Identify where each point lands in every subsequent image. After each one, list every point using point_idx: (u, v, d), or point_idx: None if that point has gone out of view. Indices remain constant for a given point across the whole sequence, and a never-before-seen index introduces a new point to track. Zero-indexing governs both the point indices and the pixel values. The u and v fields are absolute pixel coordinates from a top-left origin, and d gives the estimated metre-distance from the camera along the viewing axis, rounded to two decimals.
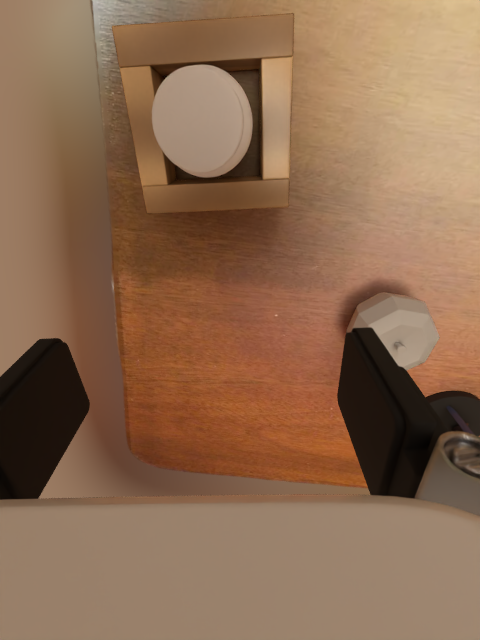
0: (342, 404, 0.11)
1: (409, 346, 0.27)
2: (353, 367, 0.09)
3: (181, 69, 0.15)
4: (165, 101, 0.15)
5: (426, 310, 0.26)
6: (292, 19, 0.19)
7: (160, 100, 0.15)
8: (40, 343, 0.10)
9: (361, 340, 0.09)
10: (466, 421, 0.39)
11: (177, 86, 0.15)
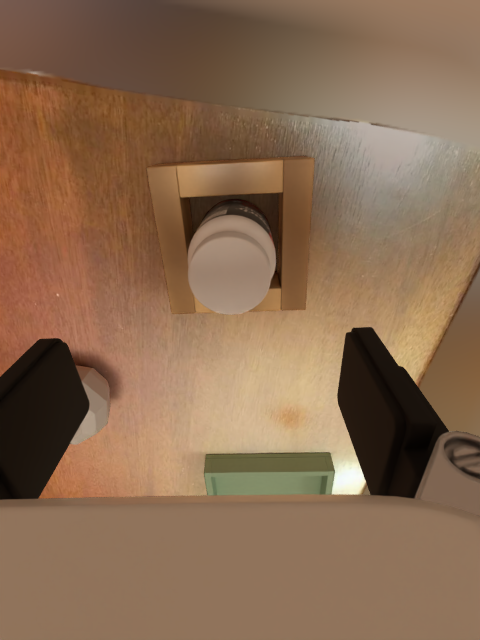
0: (342, 404, 0.11)
1: None
2: (353, 367, 0.09)
3: (268, 268, 0.17)
4: (245, 252, 0.17)
5: (99, 429, 0.31)
6: (302, 309, 0.26)
7: (246, 247, 0.17)
8: (40, 343, 0.10)
9: (361, 340, 0.09)
10: None
11: (256, 264, 0.17)
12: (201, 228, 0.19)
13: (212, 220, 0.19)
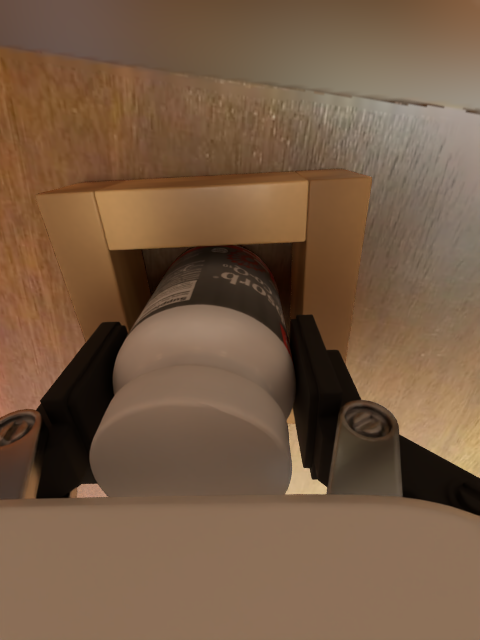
0: None
1: None
2: (293, 350, 0.10)
3: (286, 459, 0.07)
4: (228, 431, 0.06)
5: None
6: None
7: (230, 422, 0.06)
8: (104, 325, 0.10)
9: (300, 325, 0.10)
10: None
11: (257, 452, 0.07)
12: (135, 334, 0.09)
13: (158, 318, 0.08)
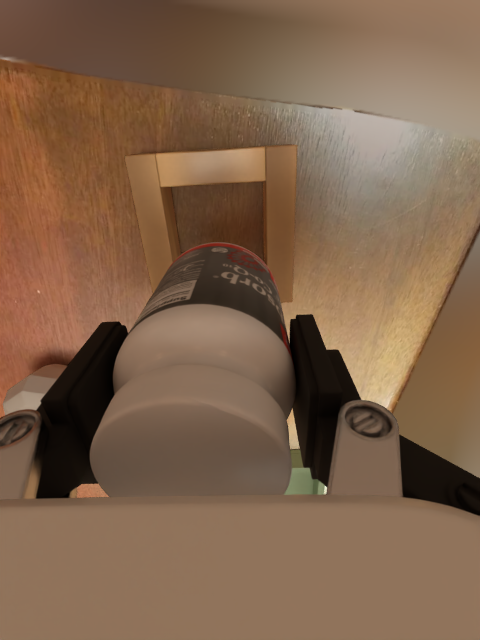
0: None
1: None
2: (293, 350, 0.10)
3: (286, 458, 0.07)
4: (228, 430, 0.06)
5: None
6: (288, 301, 0.25)
7: (230, 421, 0.06)
8: (104, 325, 0.10)
9: (300, 325, 0.10)
10: None
11: (257, 452, 0.07)
12: (135, 333, 0.09)
13: (158, 317, 0.09)
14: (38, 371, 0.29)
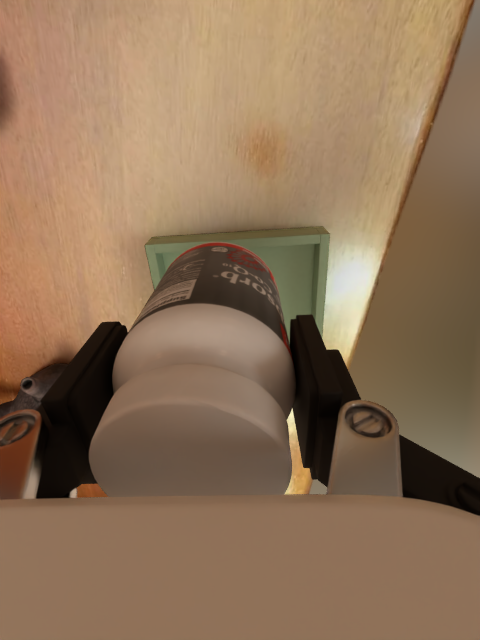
0: None
1: None
2: (293, 350, 0.10)
3: (286, 458, 0.07)
4: (228, 430, 0.06)
5: None
6: None
7: (230, 421, 0.06)
8: (104, 325, 0.10)
9: (300, 325, 0.10)
10: None
11: (257, 452, 0.07)
12: (135, 333, 0.09)
13: (158, 317, 0.08)
14: None
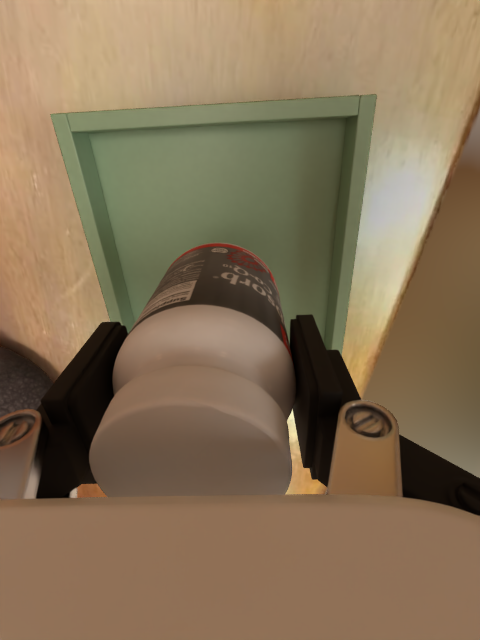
0: None
1: None
2: (293, 350, 0.10)
3: (286, 460, 0.07)
4: (228, 432, 0.06)
5: None
6: None
7: (230, 422, 0.06)
8: (104, 325, 0.10)
9: (300, 325, 0.10)
10: None
11: (257, 453, 0.07)
12: (135, 334, 0.09)
13: (158, 318, 0.08)
14: None
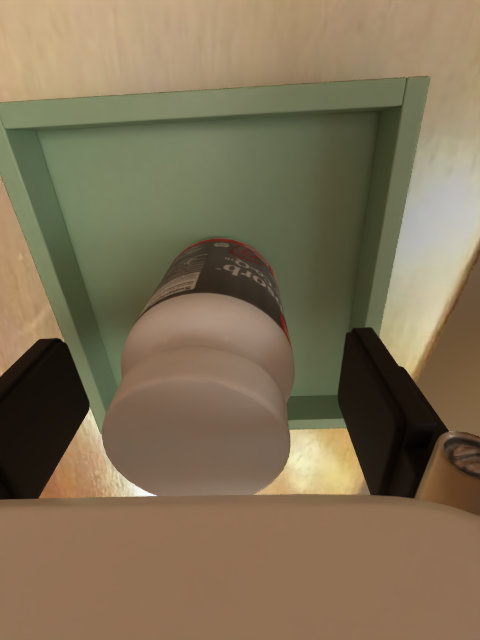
0: (342, 404, 0.11)
1: None
2: (353, 367, 0.09)
3: (285, 433, 0.07)
4: (231, 406, 0.07)
5: None
6: None
7: (233, 397, 0.07)
8: (40, 343, 0.10)
9: (361, 340, 0.09)
10: None
11: (258, 427, 0.07)
12: (143, 321, 0.09)
13: (165, 305, 0.09)
14: None
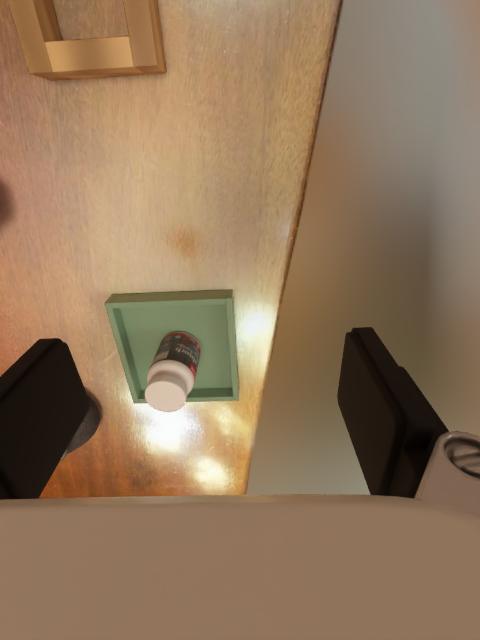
0: (342, 404, 0.11)
1: None
2: (353, 367, 0.09)
3: (183, 393, 0.35)
4: (171, 387, 0.34)
5: None
6: (154, 64, 0.26)
7: (171, 385, 0.34)
8: (40, 343, 0.10)
9: (361, 340, 0.09)
10: None
11: (177, 391, 0.35)
12: (153, 366, 0.37)
13: (158, 363, 0.37)
14: None
